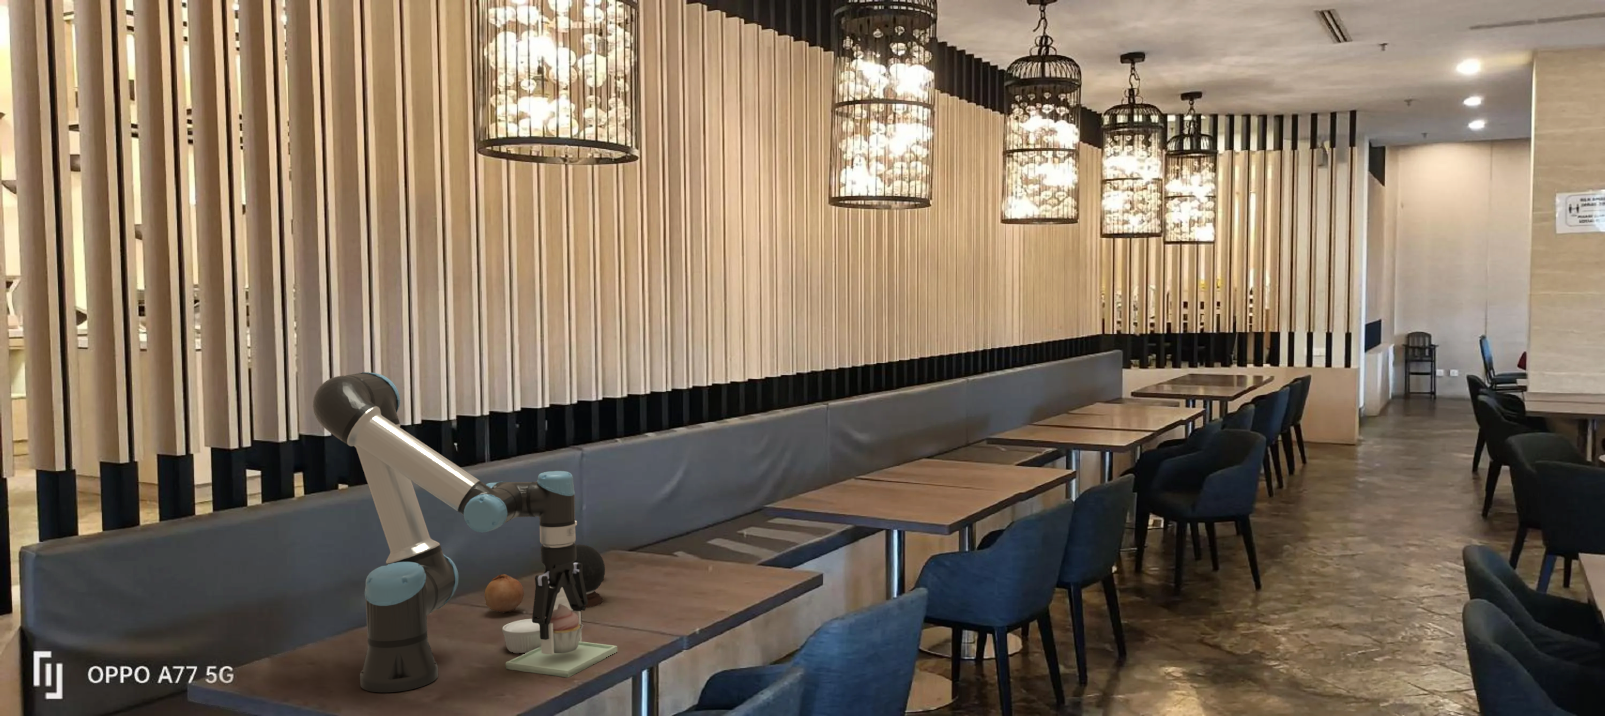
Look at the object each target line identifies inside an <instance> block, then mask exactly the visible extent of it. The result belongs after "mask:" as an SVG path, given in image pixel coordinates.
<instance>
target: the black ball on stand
mask: <svg viewBox="0 0 1605 716" xmlns="http://www.w3.org/2000/svg"><path fill="white" fill-rule="evenodd" d="M576 555H577V559H576V560H575V561H574V562H573V563H582V564H583V570H582V574H583V579H584V584H585V589H586V595H587V600H588V604H587V605H584V606H586V609H587V608H591V607H595V606H599V605H601V604H602V602H603V597H602V596H601V595H600V593H598V592H597V591H596V590H597V589H598V588H599V587H600V586H601V584H602V582H603V581H604V578H605V574H606V567H605V562H604V559H603V557H602V555H601V553H599V551H598V550H596V549H594V548H593V547H591V546H589V545H585V544H576ZM580 599H582V598H580Z"/></svg>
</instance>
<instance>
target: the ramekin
mask: <svg viewBox="0 0 1605 716" xmlns="http://www.w3.org/2000/svg"><path fill="white" fill-rule="evenodd" d="M501 631H502V634H503V636H504V641H505V646H506V648H507V650H508V651H509V652H510V653H512V652H513V653H514V654H519V653H527V652H530V651H532V650H534V649H536V648H538V647H541V639H540V626H539V624H538V623H533V622H532V618H526V619H518V620H514V621H512V622H510V623H509V622H508V623H507V624H504V625H503V626H502V629H501ZM513 653H512V654H513Z"/></svg>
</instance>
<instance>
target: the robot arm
mask: <svg viewBox="0 0 1605 716" xmlns="http://www.w3.org/2000/svg"><path fill="white" fill-rule="evenodd" d="M400 406H401V396H400V393H399V390H398V388H397V386H396V385H395V384H394V382H393V381H392V380H391V379H390V378H388V377H386V376H385V375H383V374H381V373H377V372H369V371H368V372H367V371H362V372H358V373H353V374H348V375H339V376H338V375H337V376H334V377H331V378H329V379H327V380H326V381H324V382H323V383H322V384H321V385H320V386H319V387H318V389H317V390H316V391H315V394H314V396H313V400H312V408H313V414H314V416H315V419H317V421H318V423H319V424H320V425H321V426H322V428H323V429H325V430H326V431H328V432H329V433H330V434H331V435H333V437H335V438H337V440H340V441H341V442H343V443H344V444H346V445H348V446H349V447H354V448H355V449H356V452H357V454H358V458H359V461H360V464H361V467H362V470H363V472H364V473H363V474H364V477H365V480H366V482H367V485H368V487H369V490H370V494H371V496H372V500H373V503H374V506H375V510H376V513H377V514H378V518H379V521H380V524H381V528H382V530H383V533H384V537H385V539H386V543H387V545H388V548H389V552H390V553H389V555H388V556H387V558H386V561H385V564H386V565H381V566H378V567H376V568H374V569H373V570H371V572H369V573H368V575H367V576H366V579H365V589H364V598H365V614H366V616H365V617H366V630H367V631H366V632H367V633H366V634H367V650H366V653H365V657H364V661H363V668H362V670H361V671H360V674H359V680H360V681H359V682H360V684H359V685H360V688H362V689H363V690H365V691H367V692H372V693H373V692H374V693H395V692H397V693H398V692H404V691H410V690H413V689H414V690H415V689H418V688H421V687H425V686H427V685H430V684H431V683H433V682H434V681H435V680H437V678H438V677H439V669H438V667H439V666H438V663H437V661H436V660H435V658H434V654H433V651H432V647H431V645H430V643H429V639H428V615H430V614H431V613H433V612H434V611H437V610H439V609H441V608H442V607H443V606H445V605H446V604H447V603H448V602H449V601H450V599H451V598H452V597H453V596H454V595H455V593H456V591H457V588H458V585H459V572H458V569H457V568H458V567H457V566H456V564H455V562H454V561H453V560H452V559H451V557H448V556H447V555H445V554H444V553H443V549H442V546H441V544H440V542H438V541H436V540H434V539H432V537H431V536H430V533H429V531H428V527H427V524H426V522H425V518H424V515H423V512H422V509H421V507H420V506H421V505H420V504H419V500H418V497H417V495H416V491H415V489H414V488H415V487H414V486H413V483H414V484H416V485H417V486H419V487H420V488H421V489H423V490H425V491H426V492H427V493H429V494H431V495H433V496H434V497H435V498H437V499H438V500H440V501H441V502H443V503H445V505H448V506H449V507H450V508H452V509H453V510H455V511H457V512H458V513H460V514H461V515H463V519H464V521H465V523H466V525H467V526H468V527H469V528H470V529H471V530H472V531H475V532H476V533H487V532H491V531H494V530H497V529H499V528H501V526H502V525H504V524H505V523H508V522H510V521H511V520H513V519H515V518H528V517H529V518H536V517H538V519H539V542H540V544H541V546H540V561H541V563H542V564H543V565H544V572H543V574H541V575H535V577H534V583H535V589H534V599H533V608H532V609H533V610H532V615H531V616H532V618H531V619H532V622H533V623H538V624H539V626H540V639H541V653H543V654H551V655H552V654H554V638H553V623H550V621H551V617H552V613H553V609H554V605H555V601H556V597H557V594H558V593H559V592H560V589H561V588H562V587H563V590H564V592H565V594H566V597H567V599H568V602H569V604H570V607H571V609H573V610H570V611H572V612H574V613H575V614H576V615H577V616H578V619H579V624H582V622H583V617H582V613H583V612H582V611H586V609H587V608H586V606H584V605H587V604H588V600H587V595H586V589H585V584H584V579H583V574H582V570H583V564H582V563H573V562H574V561H575V560H576V559H577V555H576V545H577V544H576V540H577V539H576V536H577V535H576V526H575V521H576V512H575V510H576V506H575V504H576V503H575V502H576V501H575V499H576V498H575V495H576V491H575V486H574V476H573V474H572V473H571V472H569V471H566V470H565V471H564V470H554V471H552V470H551V471H545V472H541V473H539V474H538V476H537V480H536V481H510V482H509V481H501V480H500V481H498V482H497V481H496V482H489V483H486V484H485V483H484V482H483V481H481V480H480V479H478V478H477V477H475V476H474V475H472V474H471V473H469V472H467V471H466V470H465V469H463V468H461V467H460V466H459V465H457V464H456V463H454V462H453V461H451V460H449V459H448V458H446V457H445V456H443V455H442V454H440V453H439V452H437V451H436V450H434V449H433V448H431V447H430V446H428V445H427V444H425V443H424V442H422V441H421V440H420V439H418V438H416V437H415V436H414V435H412V434H410V432H407V431H406V430H404V429H403V428H402V427H401V422H400V419H399V416H398V411H399V408H400ZM574 541H575V543H573V542H574ZM550 586H551V587H552V588H550ZM580 598H582V599H580ZM582 636H583V634H582V631H581V633H580V636H579V641H581V642H583V638H582Z"/></svg>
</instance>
